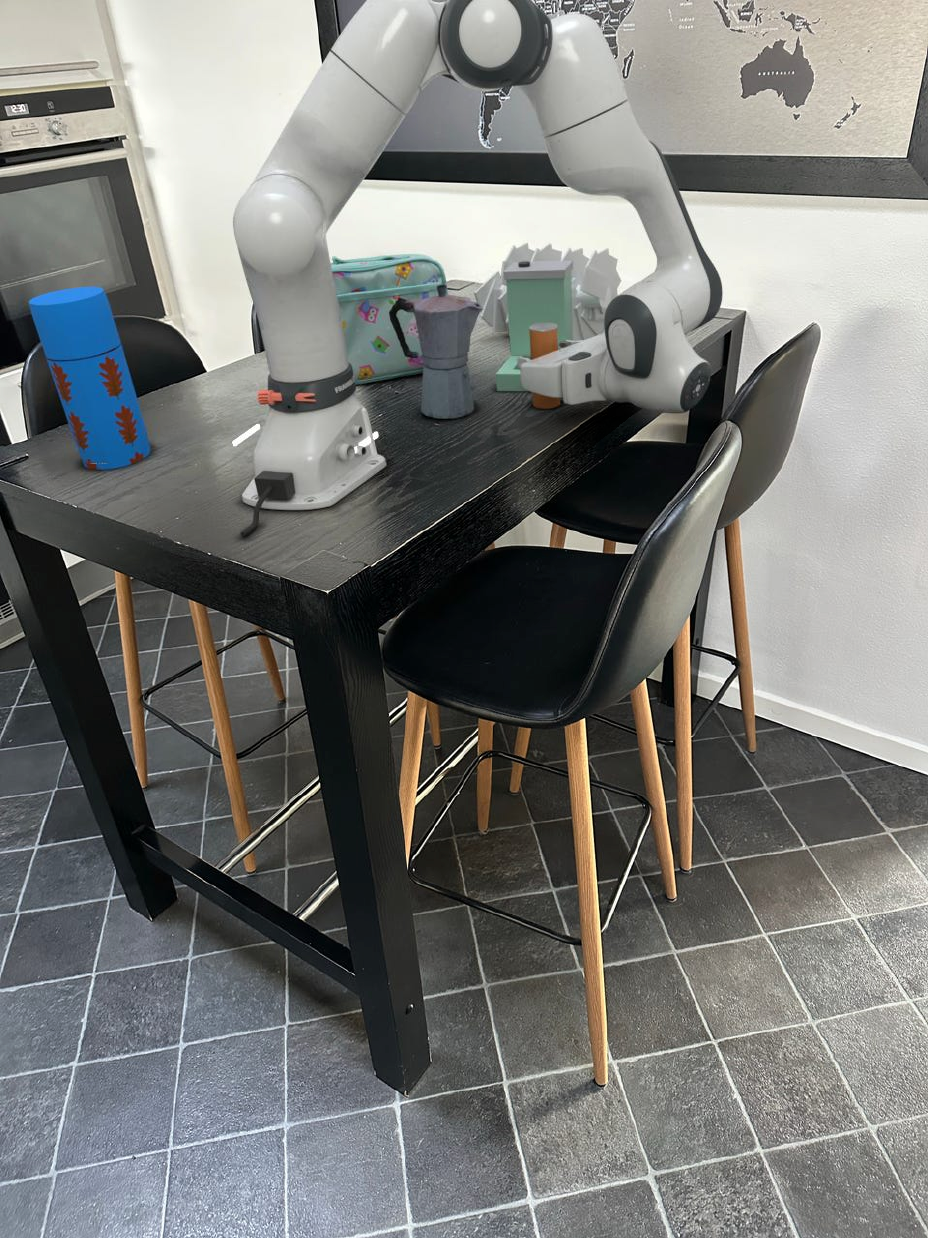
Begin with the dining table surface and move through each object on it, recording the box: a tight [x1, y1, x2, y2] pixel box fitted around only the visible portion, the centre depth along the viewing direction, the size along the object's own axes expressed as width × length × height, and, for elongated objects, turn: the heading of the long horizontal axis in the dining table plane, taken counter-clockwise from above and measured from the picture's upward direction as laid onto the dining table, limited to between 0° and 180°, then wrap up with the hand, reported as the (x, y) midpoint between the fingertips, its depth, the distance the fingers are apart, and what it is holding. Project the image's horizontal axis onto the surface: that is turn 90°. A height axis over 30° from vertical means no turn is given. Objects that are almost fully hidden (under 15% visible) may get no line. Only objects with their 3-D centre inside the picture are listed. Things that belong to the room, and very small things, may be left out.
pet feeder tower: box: [504, 260, 573, 356], centre depth 160 cm, size 7×11×18 cm, turn 73°
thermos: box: [28, 286, 151, 471], centre depth 139 cm, size 11×11×25 cm
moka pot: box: [389, 285, 483, 420], centre depth 144 cm, size 10×15×20 cm, turn 78°
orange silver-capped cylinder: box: [529, 323, 561, 410], centre depth 145 cm, size 4×4×12 cm
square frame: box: [495, 355, 529, 392], centre depth 157 cm, size 10×10×3 cm
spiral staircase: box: [473, 242, 622, 341], centre depth 174 cm, size 18×18×25 cm
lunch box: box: [330, 253, 449, 386], centre depth 163 cm, size 27×10×21 cm, turn 102°
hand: (541, 353), depth 144 cm, fingers open, 8 cm apart
